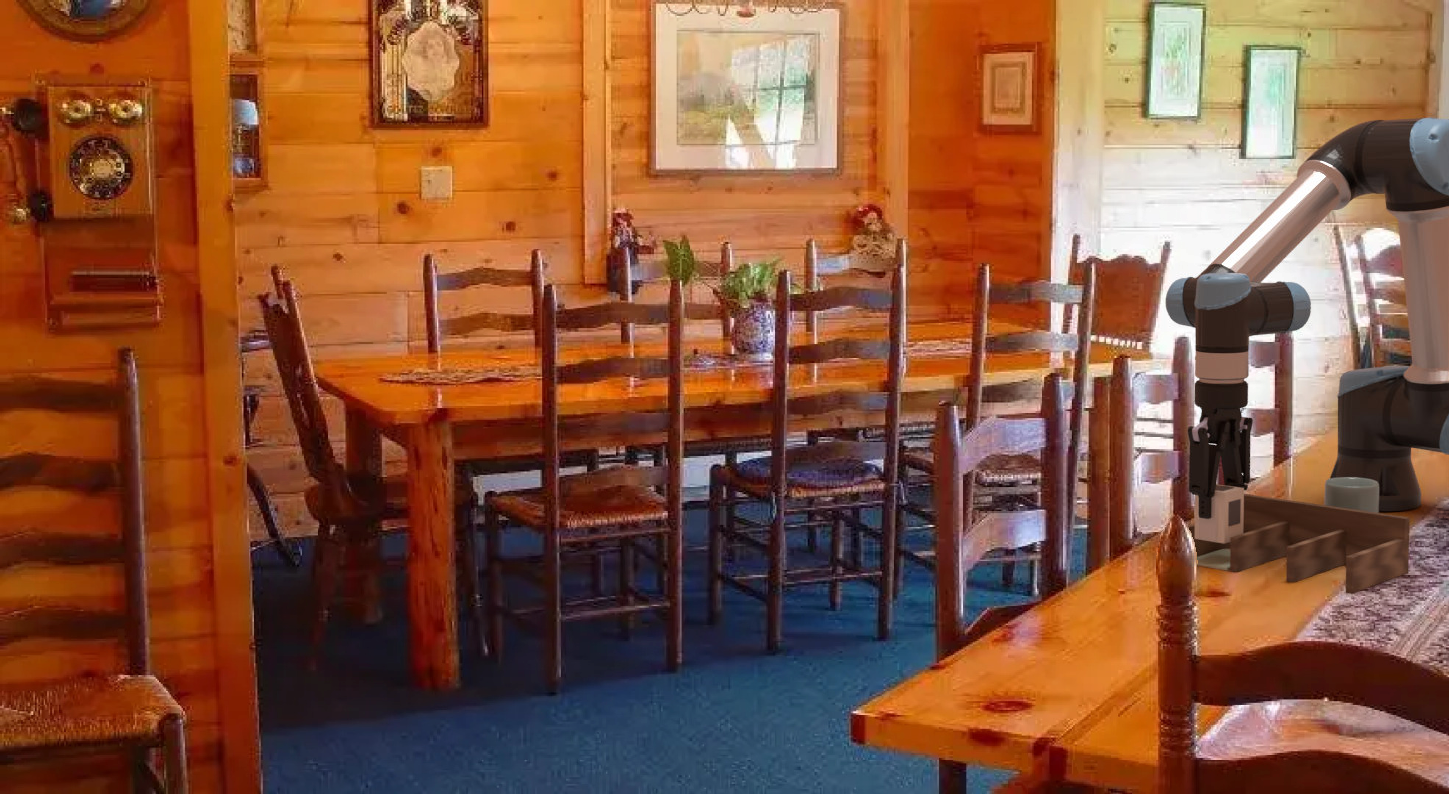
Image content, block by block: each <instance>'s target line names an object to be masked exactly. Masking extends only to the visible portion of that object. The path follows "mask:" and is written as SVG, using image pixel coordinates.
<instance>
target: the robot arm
mask: <svg viewBox="0 0 1449 794" xmlns="http://www.w3.org/2000/svg"><path fill="white" fill-rule="evenodd" d="M1371 194H1376V195H1384V200H1385V209H1386V211H1387V212H1388V213H1390V214H1391V215H1392V216H1393V217H1394V218H1396V219H1397V223H1398V224H1397V225H1398V234H1399V235H1398V236H1399V243H1400V254H1401V263H1402V275H1403V282H1404V293H1405V303H1406V312H1407V324H1408V332H1409V333H1408V334H1409V343H1410V353H1411V360H1412V361H1411V362H1412V363H1411V365H1410V366H1409V365H1393V366H1382V367H1381V366H1380V367H1378V366H1377V367H1367V368H1359V369H1353V370H1348V371H1345V372H1344V373H1342V374H1341V376H1340V378H1339V383H1338V384H1339V386H1338V393H1337V395H1336V397H1337V457H1336V460H1335V463H1334V465H1333V469H1332V471H1331V473H1330V477H1329V479H1330V478H1339V477H1355V478H1367V479H1372V480H1375V481H1377V482H1378V483H1379V512H1398V511H1399V512H1400V511H1407V510H1414V509H1418V508H1419V507H1421V505H1422V491H1421V488H1420V484H1419V480H1418V477H1417V474H1416V471H1415V468H1414V465H1413V461H1412V449H1416V450H1423V451H1424V450H1425V451H1429V452H1436V453H1442V454H1444V455H1449V118H1437V117H1436V118H1435V117H1432V116H1431V117H1417V118H1405V119H1404V118H1402V119H1401V118H1400V119H1399V118H1398V119H1385V120H1383V119H1375V120H1374V119H1373V120H1368V121H1364V122H1361V123H1358V124H1355V125H1354V126H1351V127H1348V129H1346V130H1343V131H1342V132H1340V133H1338V134H1337V135H1335V136H1334V137H1332V138H1331V139H1330V140H1328V141H1327V142H1325V143H1324V144H1323V145H1321V146H1320V147H1319V148H1318V149H1317V150H1315V151H1314V152H1313V153H1312V154H1311V155H1310V156H1309V157H1308V158H1306V160H1305V161H1304V162H1303V163H1301V165H1300V166H1299V167H1298V169H1297V173H1296V178H1295V179H1294V180H1293V182H1292V183H1291V184H1289V185H1288V187H1286V188H1285V189H1284V190H1283V191H1282V192H1281V193H1280V194H1279V195H1278V196H1277V197H1276V198H1275V200H1273V201H1272V202H1271V203H1270V204H1269V205H1268V206H1267V207H1266V208H1265V209H1264V210H1263V211H1262V212H1261V213H1260V214H1259V215H1258V216H1257V217H1256V218H1255V219H1254V220H1253V221H1252V222H1251V223H1250V224H1249V225H1248V226H1247V227H1246V228H1245V229H1244V230H1243V231H1242V232H1241V233H1240V234H1239V235H1238V236H1237V237H1236V238H1235V239H1234V240H1233V241H1232V242H1231V243H1230V244H1228V246H1227V247H1226V248H1225V249H1224V250H1223V251H1222V252H1221V253H1220V254H1219V255H1218V256H1217V257H1215V259H1214V260H1213V261H1212V262H1210V264H1209V265H1208V266H1207V267H1206V268H1205V269H1203V271H1202V272H1201V273H1200V274H1199V275H1197V276H1196V277H1193V276H1187V277H1181V278H1179V279H1176V280H1174V282H1172V283H1171V285H1170V286H1169V288H1168V290H1167V291H1166V295H1165V309H1166V312H1167V315H1168V316H1169V318H1170V319H1171V320H1172V321H1173V322H1174V323H1176V324H1178V325H1179V326H1180V325H1181V326H1185V327H1191V328H1193V329H1195V332H1194V333H1195V345H1194V346H1195V347H1194V348H1195V356H1194V361H1195V362H1194V363H1195V364H1194V376H1195V377H1196V378H1198V380H1196V382H1194V391H1193V392H1194V400H1193V401H1194V405H1195V406H1196V407H1198V408H1200V410H1201V413H1200V417H1199V423H1198V424H1197V425H1196V426H1191V425H1190V426H1189V427H1187V435H1188V441H1189V459H1188V460H1189V461H1188V462H1189V463H1188V465H1189V466H1188V467H1189V469H1188V470H1189V471H1188V473H1189V474H1188V492H1189V493H1190V494H1192V495H1194V496H1195V495H1198V497H1199V539H1204V540H1210V541H1218V497H1217V496H1214V494H1215V489H1216V484H1217V480H1218V474H1219V469H1220V462H1221V468H1222V474H1223V482H1224V484H1223V485H1226V486H1233V487H1241V488H1244V491H1247V490H1248V487H1249V484H1250V481H1251V433H1252V429H1253V428H1252V427H1253V424H1254V423H1253V422H1254V421H1253V419H1254V418H1252V417H1247V416H1243V415H1242V411H1241V409H1244V408H1246V407H1247V406H1248V403H1249V383H1248V382H1247V381H1246V380H1245V379H1248V377H1249V371H1250V370H1249V369H1250V368H1249V367H1250V366H1249V363H1250V362H1249V352H1250V351H1249V350H1250V348H1249V347H1250V337H1253V336H1263V335H1264V336H1265V335H1274V334H1281V335H1285V334H1287V333H1290V332H1295V331H1296V332H1297V331H1298V330H1300V329H1302V328H1303V327H1304V326H1305V325H1306V324H1307V322H1308V321H1309V319H1310V317H1311V313H1312V310H1311V309H1312V302H1311V301H1312V300H1311V298H1310V295H1309V293H1308V292H1307V290H1306V289H1305V288H1304V287H1303V286H1302V285H1301V284H1299V283H1297V282H1294V281H1288V282H1287V281H1281V280H1279V281H1276V282H1263V281H1264V280H1265V279H1266V278H1267V277H1268V276H1269V275H1270V274H1271V273H1272V272H1273V271H1274V270H1275V269H1276V267H1278V266H1279V265H1280V264H1281V263H1282V262H1283V261H1284V260H1285V259H1286V258H1287V256H1289V255H1290V254H1291V253H1292V252H1293V250H1294V249H1295V248H1296V247H1297V246H1298V245H1300V243H1301V242H1303V241H1304V240H1305V238H1307V237H1308V236H1309V235H1310V234H1311V232H1313V231H1314V229H1315V228H1316V227H1317V226H1318V225H1320V223H1322V221H1323V220H1324V219H1325V218H1327V217H1328V215H1330V213H1332V211H1339V210H1341V209H1343V208H1345V207H1346V206H1347V205H1349V204H1350V202H1351V201H1353V200H1354V199H1356V198H1358V197H1361V196H1365V195H1371Z"/></svg>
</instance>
